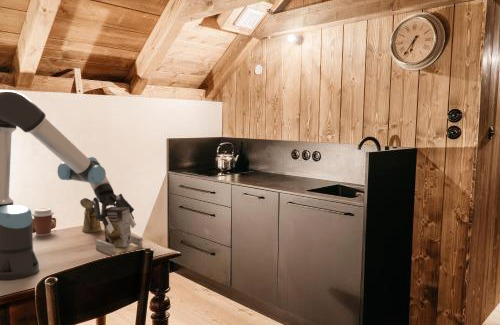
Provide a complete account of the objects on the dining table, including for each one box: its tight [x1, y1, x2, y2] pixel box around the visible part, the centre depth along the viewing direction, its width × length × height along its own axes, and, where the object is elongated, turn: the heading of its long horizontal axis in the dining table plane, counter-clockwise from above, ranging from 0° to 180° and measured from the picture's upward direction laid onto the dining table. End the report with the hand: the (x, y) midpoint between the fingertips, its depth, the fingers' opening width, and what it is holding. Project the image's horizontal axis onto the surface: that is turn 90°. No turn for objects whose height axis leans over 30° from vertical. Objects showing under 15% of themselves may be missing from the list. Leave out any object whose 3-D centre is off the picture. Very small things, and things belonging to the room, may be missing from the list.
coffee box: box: [103, 206, 132, 247], centre depth 181 cm, size 9×6×16 cm
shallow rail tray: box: [95, 234, 143, 256], centre depth 182 cm, size 15×12×4 cm
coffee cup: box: [32, 207, 54, 237], centre depth 201 cm, size 9×9×12 cm
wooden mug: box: [79, 197, 102, 234], centre depth 207 cm, size 9×14×18 cm, turn 1°
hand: (123, 228), depth 180 cm, fingers open, 10 cm apart
